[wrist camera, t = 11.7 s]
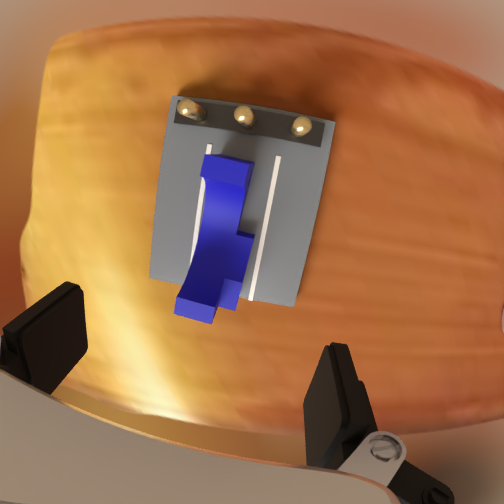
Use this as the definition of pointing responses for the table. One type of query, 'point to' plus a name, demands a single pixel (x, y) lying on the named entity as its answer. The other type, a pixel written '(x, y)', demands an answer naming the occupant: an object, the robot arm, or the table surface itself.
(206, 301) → the blue curved bracket
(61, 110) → the table surface
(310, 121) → the brass pins
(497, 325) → the table surface
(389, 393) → the table surface
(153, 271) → the header board
